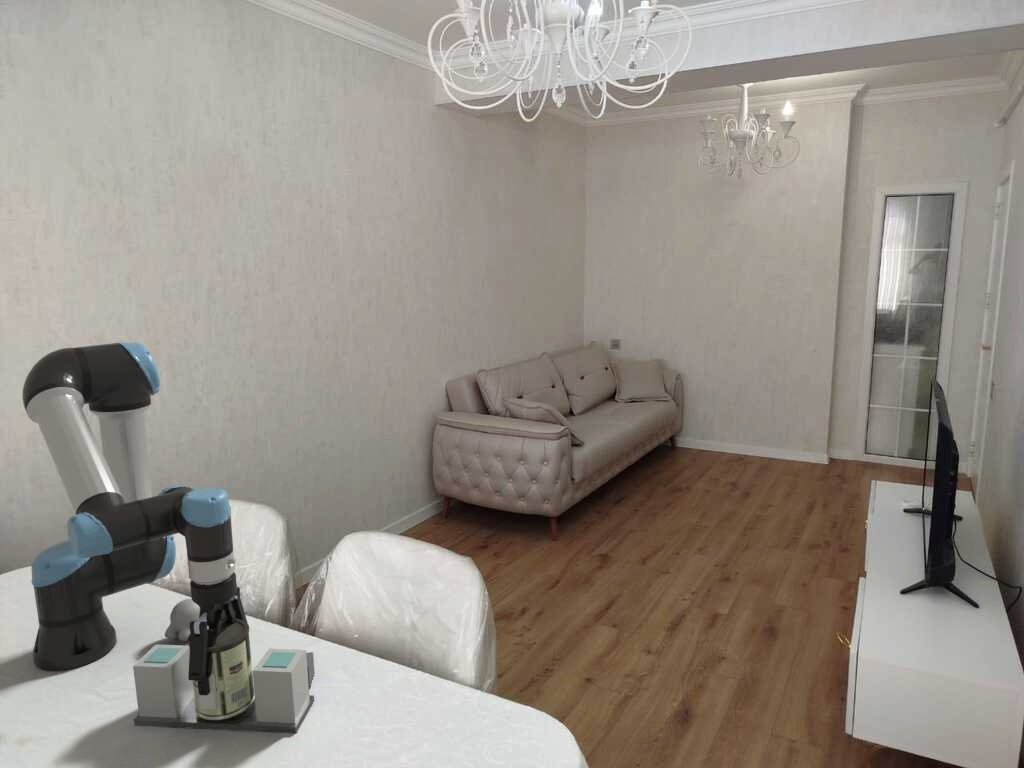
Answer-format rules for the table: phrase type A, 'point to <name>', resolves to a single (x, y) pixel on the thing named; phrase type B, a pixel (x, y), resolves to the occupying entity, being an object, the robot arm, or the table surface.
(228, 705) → the coffee can
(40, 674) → the table surface
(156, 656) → the mounted module
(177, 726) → the rail plate
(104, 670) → the table surface
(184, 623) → the chubby cartoon animal
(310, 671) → the charcoal block
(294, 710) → the block
